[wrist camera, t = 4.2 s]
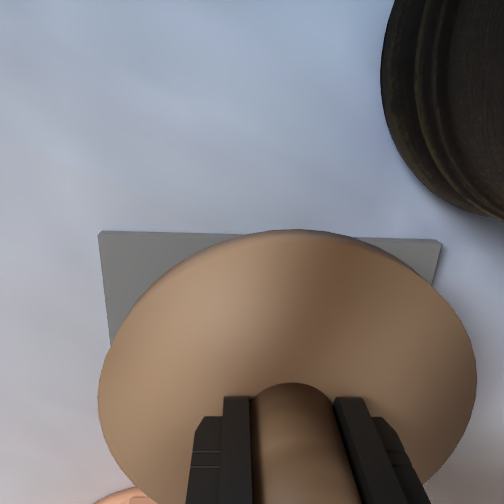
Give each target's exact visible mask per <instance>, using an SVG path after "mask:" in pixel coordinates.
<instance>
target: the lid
mask: <svg viewBox="0 0 504 504" xmlns="http://www.w3.org/2000/svg"><path fill="white" fill-rule="evenodd" d="M476 386H477V373H476V361H475V357H474V353H473V349H472V345H471V341H470V339H469V337H468V335H467V332H466V330H465V328H464V326H463V324H462V322H461V320H460V319H459V317H458V316H457V315H456V313H455V312H454V310H453V309H452V307H451V306H450V304H449V303H448V302H447V301H446V300H445V299H444V298H443V297H442V296H441V295H440V294H439V293H438V292H437V291H436V290H435V289H434V288H433V287H432V286H431V285H430V284H429V283H428V282H427V281H426V280H425V279H423V278H422V277H421V276H420V275H419V274H418V273H417V272H416V271H415V270H413V269H412V268H411V267H409V266H408V265H407V264H405V263H404V262H403V261H401V260H400V259H399V258H397V257H396V256H394V255H392V254H390V253H388V252H386V251H384V250H383V249H381V248H379V247H377V246H375V245H372V244H369V243H367V242H364V241H361V240H358V239H356V238H353V237H349V236H345V235H340V234H335V233H331V232H326V231H315V230H303V229H291V230H271V231H265V232H259V233H252V234H246V235H243V236H239V237H236V238H232V239H229V240H226V241H222V242H219V243H217V244H215V245H212V246H210V247H208V248H205V249H203V250H201V251H199V252H196V253H194V254H193V255H191V256H189V257H188V258H186V259H184V260H183V261H181V262H179V263H178V264H176V265H174V266H173V267H172V268H171V269H169V270H168V271H167V272H166V273H164V274H163V275H162V276H161V277H159V278H158V279H157V280H156V281H154V282H153V284H152V285H151V286H150V287H149V288H148V289H147V290H146V291H145V292H144V293H143V294H142V295H141V296H140V297H139V299H138V300H137V301H136V303H135V304H134V306H133V307H132V309H131V310H130V312H129V313H128V315H127V316H126V318H125V320H124V321H123V323H122V325H121V327H120V329H119V331H118V333H117V335H116V336H115V339H114V341H113V343H112V345H111V347H110V349H109V351H108V353H107V355H106V357H105V361H104V364H103V368H102V371H101V375H100V379H99V389H98V412H99V420H100V424H101V428H102V432H103V436H104V438H105V441H106V443H107V445H108V448H109V450H110V452H111V454H112V456H113V457H114V459H115V461H116V462H117V464H118V465H119V467H120V469H121V470H122V471H123V472H124V473H125V475H126V476H127V477H128V478H129V479H130V480H131V482H132V483H133V484H134V485H135V486H136V487H138V488H139V489H140V490H141V491H142V492H143V493H144V494H145V495H146V496H148V497H149V498H151V499H152V500H153V501H155V502H156V503H158V504H185V502H186V494H187V487H188V479H189V472H190V464H191V457H192V449H193V442H194V434H195V431H196V429H197V427H198V426H199V424H200V422H201V421H202V419H203V418H204V416H223V399H224V396H248V398H249V423H250V451H251V479H252V504H362V502H361V498H360V495H359V492H358V489H357V485H356V482H355V479H354V476H353V473H352V469H351V466H350V463H349V460H348V456H347V453H346V450H345V447H344V444H343V440H342V437H341V434H340V431H339V428H338V424H337V421H336V418H335V415H334V411H333V403H334V399H335V398H336V397H361V398H363V400H364V402H365V404H366V406H367V408H368V411H369V413H370V416H371V417H383V418H384V419H385V420H386V422H387V423H388V424H389V425H390V426H391V427H392V428H393V429H394V430H395V431H396V432H397V434H398V436H399V438H400V440H401V442H402V445H403V447H404V449H405V453H407V455H408V457H409V459H410V461H411V463H412V467H413V468H414V469H415V471H416V473H417V476H418V478H419V480H420V482H421V484H422V485H423V484H424V483H425V482H426V481H428V480H429V479H430V478H431V477H432V476H433V475H434V474H435V473H436V472H437V471H438V470H439V469H440V468H441V466H442V465H443V464H444V463H445V461H446V460H447V459H448V458H449V456H450V455H451V454H452V452H453V451H454V449H455V448H456V446H457V444H458V443H459V441H460V439H461V438H462V436H463V434H464V432H465V429H466V427H467V425H468V422H469V420H470V418H471V414H472V410H473V406H474V402H475V397H476Z"/></svg>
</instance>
